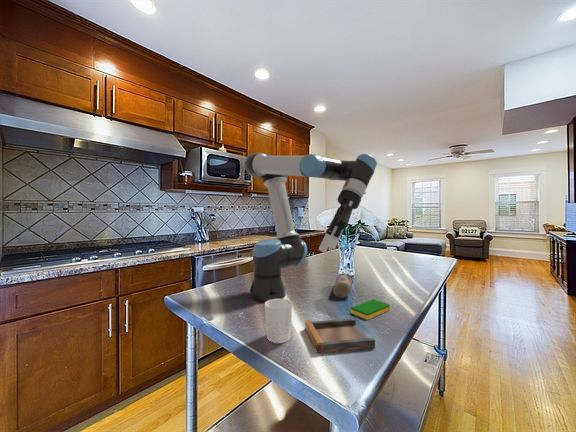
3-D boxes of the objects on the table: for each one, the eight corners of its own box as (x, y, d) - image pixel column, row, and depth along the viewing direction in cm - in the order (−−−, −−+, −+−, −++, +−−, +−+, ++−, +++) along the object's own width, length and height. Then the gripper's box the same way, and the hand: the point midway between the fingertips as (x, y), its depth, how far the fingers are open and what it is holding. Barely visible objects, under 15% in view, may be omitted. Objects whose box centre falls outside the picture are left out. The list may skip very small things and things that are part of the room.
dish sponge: (350, 314, 91) (350, 307, 91) (373, 305, 100) (373, 298, 100) (367, 321, 86) (367, 314, 85) (390, 311, 94) (390, 304, 94)
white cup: (264, 331, 77) (264, 298, 77) (290, 330, 78) (290, 298, 78) (264, 345, 70) (264, 309, 69) (293, 344, 70) (293, 308, 70)
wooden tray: (354, 324, 82) (354, 316, 82) (375, 347, 69) (375, 338, 68) (305, 328, 79) (305, 320, 79) (317, 353, 66) (317, 343, 66)
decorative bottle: (350, 299, 105) (350, 283, 105) (332, 297, 107) (332, 281, 107) (354, 281, 130) (354, 268, 129) (339, 280, 132) (339, 267, 132)
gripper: (375, 187, 77) (347, 250, 72) (350, 208, 101) (327, 257, 96) (352, 176, 77) (323, 238, 72) (333, 200, 101) (309, 248, 96)
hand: (325, 249), depth 84 cm, fingers open, 13 cm apart
